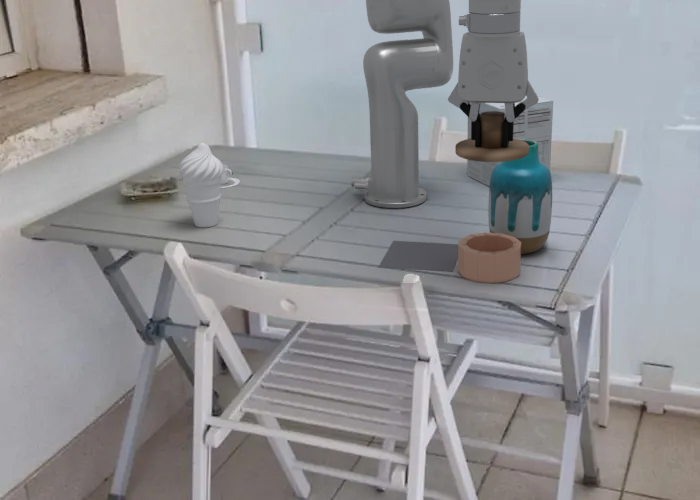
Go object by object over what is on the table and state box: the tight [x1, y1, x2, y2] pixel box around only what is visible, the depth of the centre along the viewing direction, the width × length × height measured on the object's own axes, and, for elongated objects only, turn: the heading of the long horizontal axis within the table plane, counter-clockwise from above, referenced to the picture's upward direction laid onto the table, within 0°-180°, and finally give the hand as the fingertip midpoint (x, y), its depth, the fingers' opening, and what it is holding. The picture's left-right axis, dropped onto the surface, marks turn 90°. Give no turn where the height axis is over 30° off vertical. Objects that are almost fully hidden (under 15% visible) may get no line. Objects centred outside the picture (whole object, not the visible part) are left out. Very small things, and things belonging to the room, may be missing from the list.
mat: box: [378, 240, 459, 273], centre depth 161 cm, size 12×12×1 cm
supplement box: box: [466, 95, 554, 187], centre depth 198 cm, size 13×13×18 cm
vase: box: [487, 139, 553, 255], centre depth 159 cm, size 11×11×19 cm
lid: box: [454, 111, 529, 162], centre depth 144 cm, size 11×11×6 cm
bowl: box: [457, 232, 522, 284], centre depth 152 cm, size 10×10×5 cm
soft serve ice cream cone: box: [178, 142, 224, 228], centre depth 178 cm, size 8×8×16 cm
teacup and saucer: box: [220, 164, 241, 189], centre depth 206 cm, size 9×8×4 cm
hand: (492, 144), depth 145 cm, fingers closed on lid, 3 cm apart
